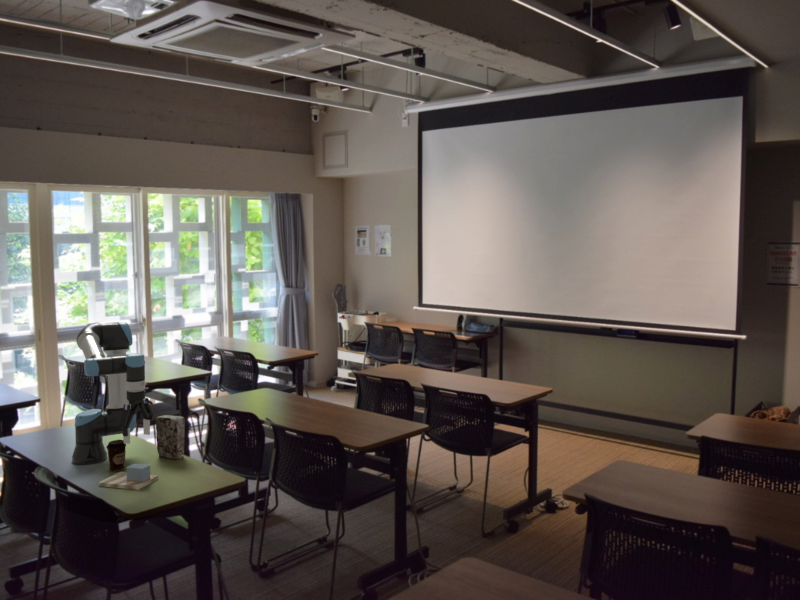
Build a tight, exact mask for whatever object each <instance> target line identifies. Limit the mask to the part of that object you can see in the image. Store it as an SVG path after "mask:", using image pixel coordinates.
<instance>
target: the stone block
mask: <svg viewBox="0 0 800 600" xmlns="http://www.w3.org/2000/svg"><path fill="white" fill-rule="evenodd" d="M185 420H186V419H185V417H184V416H181V415H172V414H171V415H168V414H165V415H160V416H157V417H156V419H155V430H156V436H155V439H156V449H157V450H156V451H157V453H158V457H159V458H162V459H163V458H164V459H171V460H181V459H183V458H184V457H185V427H186V425H185V423H186V421H185ZM182 455H183V456H182ZM182 457H183V458H182Z"/></svg>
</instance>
